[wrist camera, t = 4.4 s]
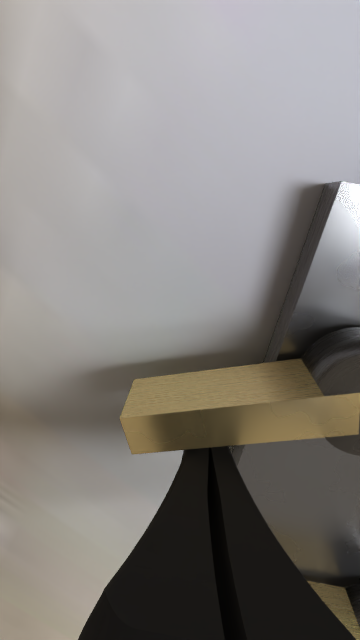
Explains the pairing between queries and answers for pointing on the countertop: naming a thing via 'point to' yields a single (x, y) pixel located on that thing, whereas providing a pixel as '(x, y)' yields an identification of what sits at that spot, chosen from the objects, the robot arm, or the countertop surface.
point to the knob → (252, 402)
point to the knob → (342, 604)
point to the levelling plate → (317, 453)
